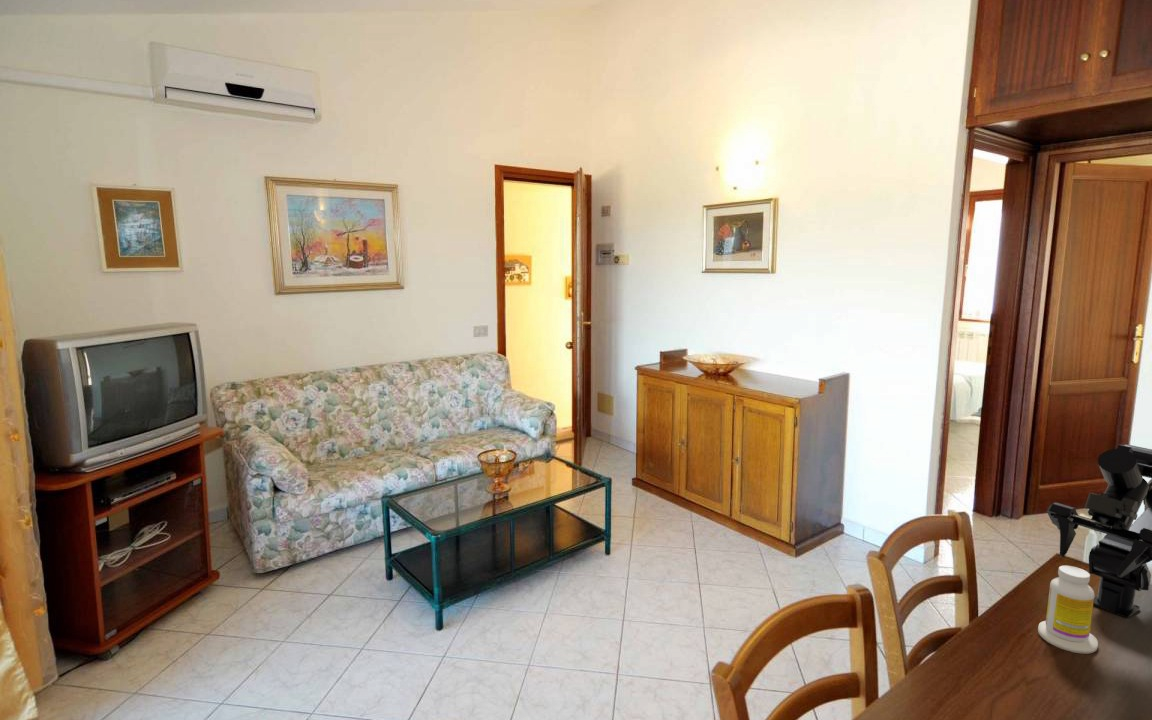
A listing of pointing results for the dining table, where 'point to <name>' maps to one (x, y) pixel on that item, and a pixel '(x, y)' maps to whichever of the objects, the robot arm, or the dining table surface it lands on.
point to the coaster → (1071, 646)
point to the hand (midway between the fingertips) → (1089, 566)
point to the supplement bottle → (1070, 604)
